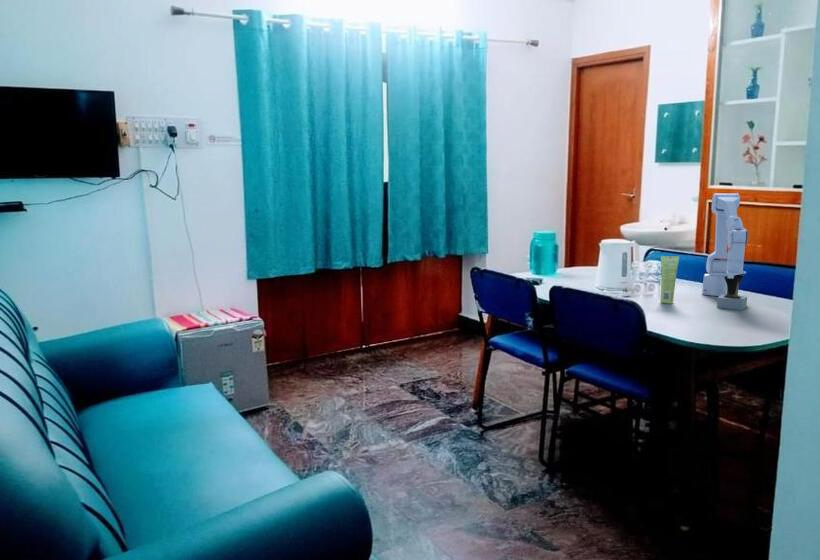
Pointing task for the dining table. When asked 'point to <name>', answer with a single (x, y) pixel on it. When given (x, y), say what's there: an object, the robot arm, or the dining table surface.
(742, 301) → the socket block
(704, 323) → the dining table surface
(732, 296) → the peg
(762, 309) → the dining table surface
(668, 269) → the tube
